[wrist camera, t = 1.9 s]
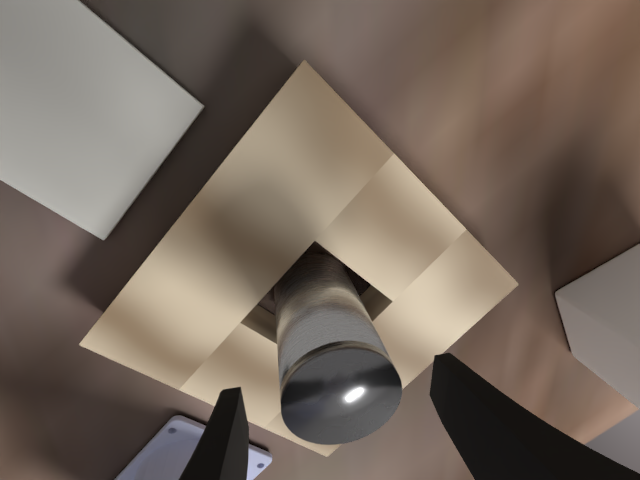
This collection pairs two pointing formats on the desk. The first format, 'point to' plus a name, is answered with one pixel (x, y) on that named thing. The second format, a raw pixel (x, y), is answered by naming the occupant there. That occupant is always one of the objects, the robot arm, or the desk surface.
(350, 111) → the bore block
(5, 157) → the mat
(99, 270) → the desk surface
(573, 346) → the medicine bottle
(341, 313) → the end cover
